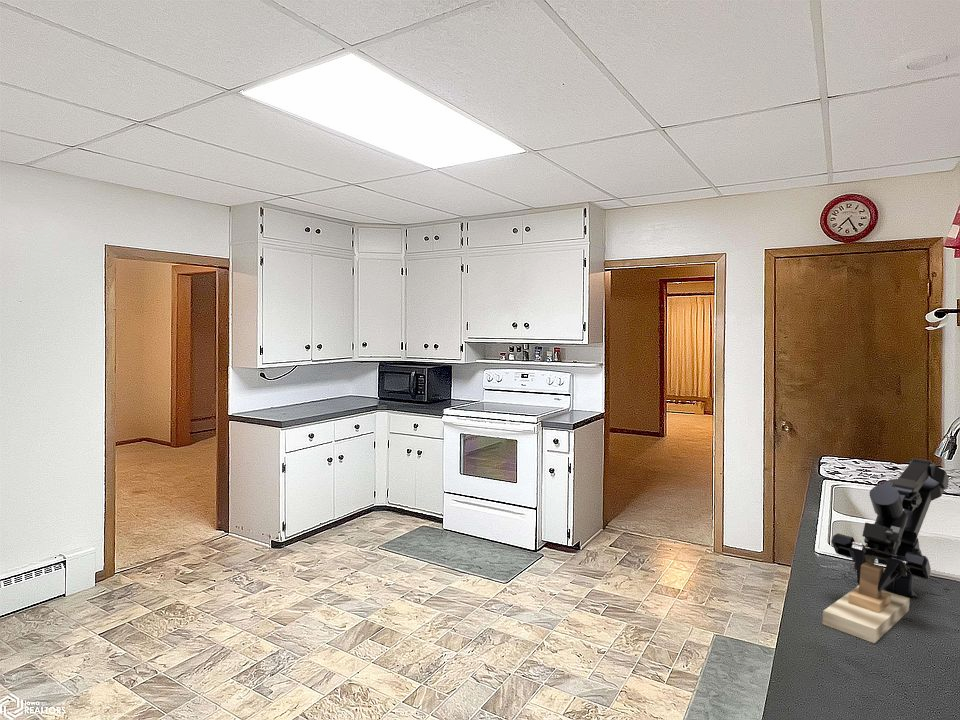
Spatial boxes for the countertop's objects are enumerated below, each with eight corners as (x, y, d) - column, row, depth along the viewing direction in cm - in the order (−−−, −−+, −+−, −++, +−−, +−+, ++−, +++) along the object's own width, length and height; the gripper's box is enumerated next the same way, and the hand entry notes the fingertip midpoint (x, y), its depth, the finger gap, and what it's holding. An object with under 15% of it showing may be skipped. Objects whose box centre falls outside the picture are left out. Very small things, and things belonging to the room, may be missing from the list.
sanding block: (860, 593, 142) (863, 558, 142) (890, 603, 138) (893, 566, 137) (848, 602, 137) (851, 565, 137) (878, 613, 132) (881, 574, 132)
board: (860, 595, 148) (861, 583, 148) (908, 610, 141) (909, 598, 141) (822, 624, 133) (823, 610, 133) (874, 643, 125) (875, 629, 125)
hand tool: (871, 576, 161) (872, 559, 161) (853, 572, 164) (855, 555, 163) (883, 558, 175) (884, 542, 175) (867, 554, 178) (868, 539, 178)
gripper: (837, 499, 146) (815, 555, 139) (931, 520, 132) (912, 583, 125) (846, 525, 151) (826, 580, 145) (938, 548, 137) (920, 609, 131)
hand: (868, 587), depth 136 cm, fingers closed on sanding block, 4 cm apart
